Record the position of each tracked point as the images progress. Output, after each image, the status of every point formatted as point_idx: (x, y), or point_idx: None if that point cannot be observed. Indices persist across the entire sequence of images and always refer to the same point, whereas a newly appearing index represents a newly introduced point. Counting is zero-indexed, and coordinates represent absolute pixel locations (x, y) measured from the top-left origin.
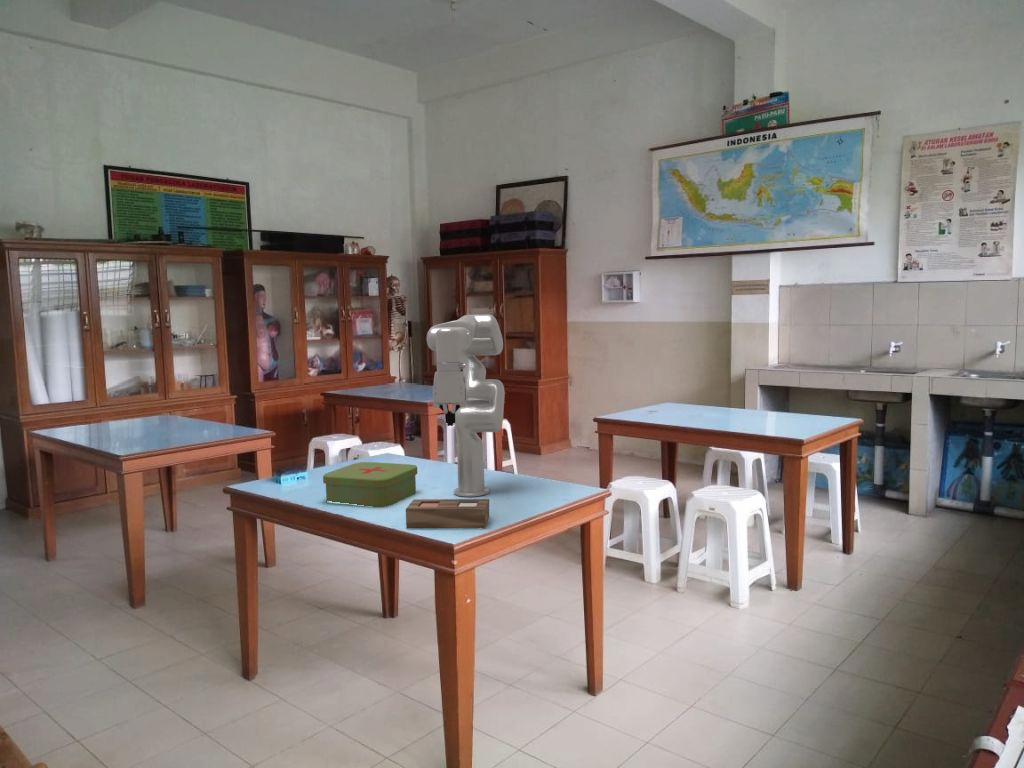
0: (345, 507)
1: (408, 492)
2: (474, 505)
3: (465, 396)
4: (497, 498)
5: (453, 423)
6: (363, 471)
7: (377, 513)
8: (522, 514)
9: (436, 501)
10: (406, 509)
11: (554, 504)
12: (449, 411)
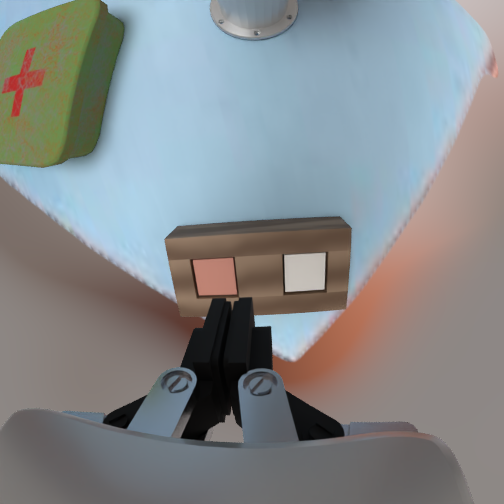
0: (41, 170)
1: (111, 59)
2: (321, 273)
3: (460, 478)
4: (329, 49)
5: (252, 309)
6: (11, 101)
7: (98, 200)
8: (401, 189)
9: (225, 255)
10: (182, 316)
11: (448, 117)
12: (213, 397)
